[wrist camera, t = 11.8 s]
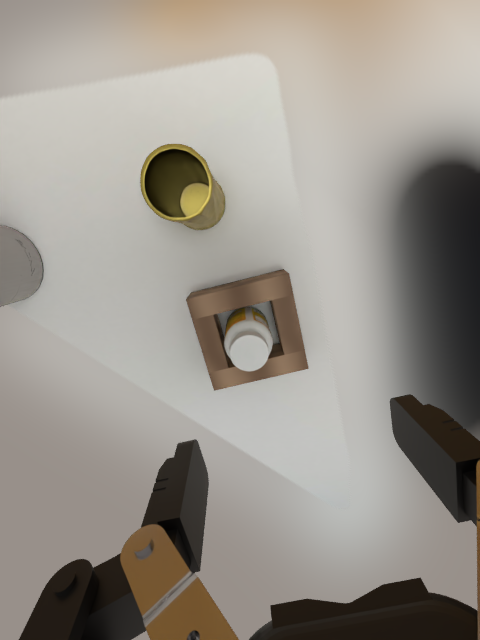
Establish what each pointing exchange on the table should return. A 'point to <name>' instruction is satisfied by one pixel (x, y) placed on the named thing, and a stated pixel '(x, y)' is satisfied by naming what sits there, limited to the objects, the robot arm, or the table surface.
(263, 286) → the socket block
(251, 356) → the supplement bottle
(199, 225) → the vase
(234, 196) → the table surface
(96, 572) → the robot arm
